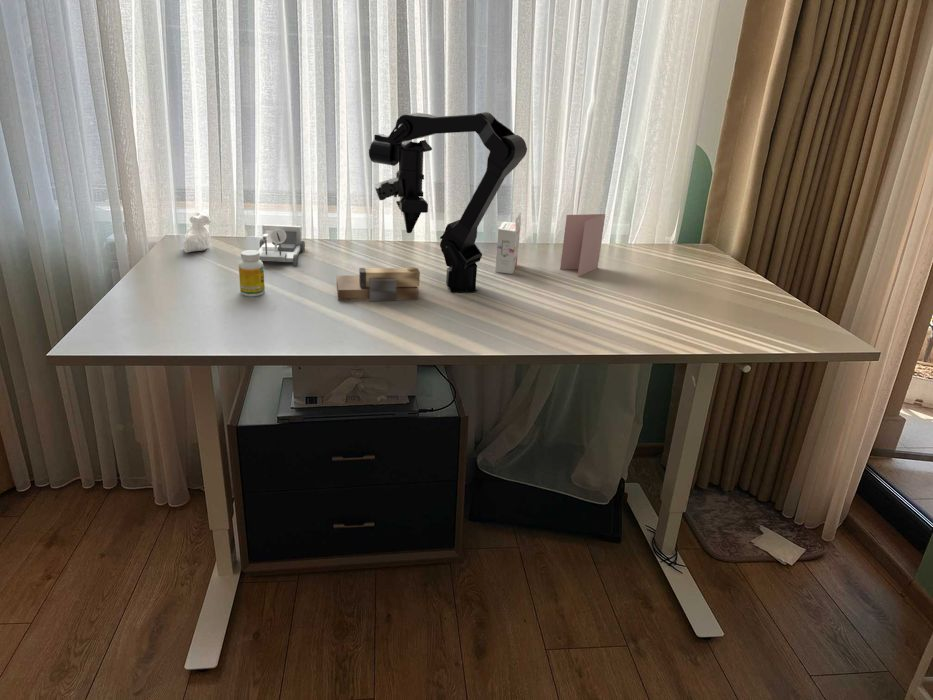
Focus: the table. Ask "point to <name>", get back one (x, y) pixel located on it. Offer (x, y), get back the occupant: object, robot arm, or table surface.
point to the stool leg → (391, 276)
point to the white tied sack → (197, 233)
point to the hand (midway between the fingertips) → (408, 232)
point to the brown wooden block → (373, 289)
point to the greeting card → (582, 242)
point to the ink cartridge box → (508, 246)
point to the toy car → (281, 243)
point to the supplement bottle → (251, 274)
